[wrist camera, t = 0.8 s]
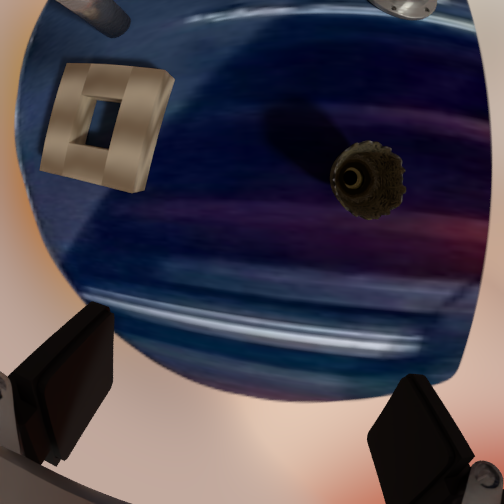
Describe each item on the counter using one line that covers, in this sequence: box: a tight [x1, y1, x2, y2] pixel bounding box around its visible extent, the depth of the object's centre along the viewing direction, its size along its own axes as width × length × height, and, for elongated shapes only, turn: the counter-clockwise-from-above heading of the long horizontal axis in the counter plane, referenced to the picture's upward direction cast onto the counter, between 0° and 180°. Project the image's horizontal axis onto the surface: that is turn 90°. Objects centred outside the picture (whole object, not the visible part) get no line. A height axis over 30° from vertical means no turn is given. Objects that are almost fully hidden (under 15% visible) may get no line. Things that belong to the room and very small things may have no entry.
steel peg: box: [56, 0, 131, 38], centre depth 24 cm, size 4×4×14 cm
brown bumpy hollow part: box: [330, 141, 406, 220], centre depth 31 cm, size 8×7×8 cm
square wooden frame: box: [40, 63, 175, 193], centre depth 32 cm, size 14×14×4 cm
